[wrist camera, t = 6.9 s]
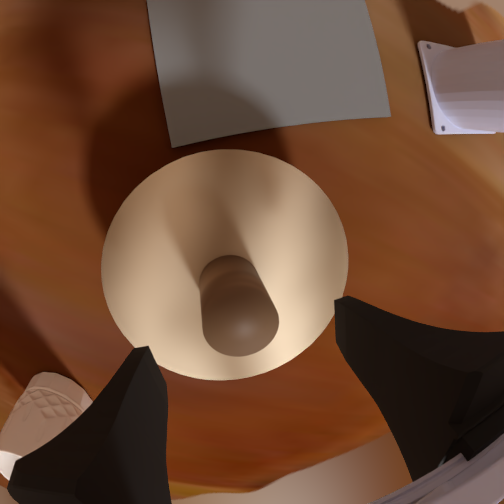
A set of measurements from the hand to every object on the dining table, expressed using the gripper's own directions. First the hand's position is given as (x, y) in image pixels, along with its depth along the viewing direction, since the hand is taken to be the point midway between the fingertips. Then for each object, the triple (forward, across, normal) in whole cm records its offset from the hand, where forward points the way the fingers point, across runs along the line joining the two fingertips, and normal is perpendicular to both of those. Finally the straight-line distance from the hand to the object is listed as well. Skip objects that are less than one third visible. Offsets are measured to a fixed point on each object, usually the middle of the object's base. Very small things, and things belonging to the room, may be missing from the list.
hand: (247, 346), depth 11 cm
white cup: (+10, +18, +10) cm, 23 cm away
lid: (+6, 0, 0) cm, 6 cm away
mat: (+10, -6, -15) cm, 19 cm away
